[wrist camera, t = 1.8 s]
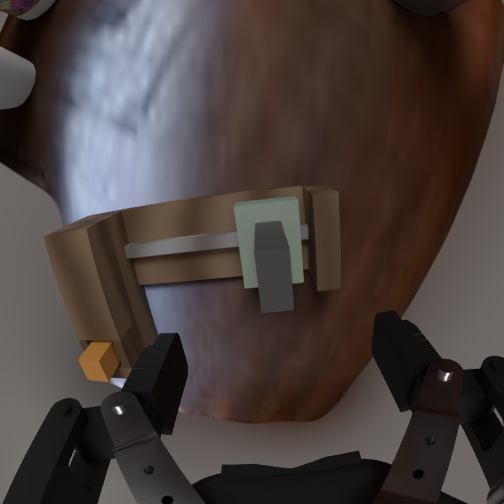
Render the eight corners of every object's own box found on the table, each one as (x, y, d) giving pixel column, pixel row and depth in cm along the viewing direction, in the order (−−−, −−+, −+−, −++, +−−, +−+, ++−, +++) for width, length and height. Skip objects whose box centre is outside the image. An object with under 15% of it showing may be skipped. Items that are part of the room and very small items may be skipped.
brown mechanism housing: (321, 183, 27) (345, 195, 20) (326, 321, 32) (343, 367, 24) (87, 216, 28) (43, 236, 21) (121, 335, 33) (95, 376, 26)
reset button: (117, 334, 26) (98, 361, 22) (124, 353, 27) (108, 381, 22) (97, 333, 26) (78, 359, 22) (105, 353, 27) (88, 379, 23)
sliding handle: (292, 193, 26) (314, 218, 16) (298, 266, 28) (318, 327, 18) (236, 199, 27) (223, 228, 16) (246, 271, 29) (240, 335, 19)
